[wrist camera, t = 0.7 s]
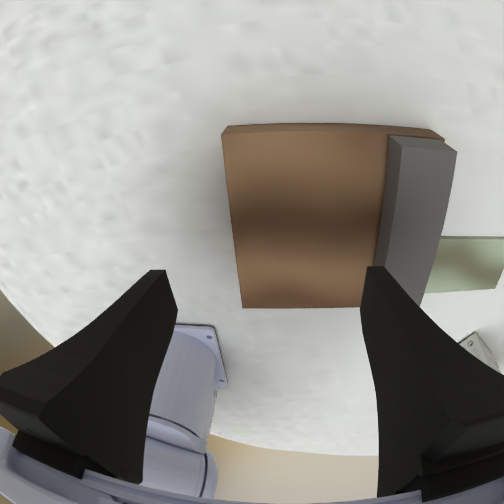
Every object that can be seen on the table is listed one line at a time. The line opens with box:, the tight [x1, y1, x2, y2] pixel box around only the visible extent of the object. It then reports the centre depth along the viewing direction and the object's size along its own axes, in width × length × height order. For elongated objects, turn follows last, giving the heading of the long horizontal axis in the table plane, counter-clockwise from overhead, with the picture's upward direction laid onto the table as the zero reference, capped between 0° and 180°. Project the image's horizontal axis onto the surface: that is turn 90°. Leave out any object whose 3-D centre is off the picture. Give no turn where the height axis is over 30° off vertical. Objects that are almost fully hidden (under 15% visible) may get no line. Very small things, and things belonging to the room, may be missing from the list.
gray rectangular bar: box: [374, 135, 457, 307], centre depth 16 cm, size 12×3×2 cm, turn 4°
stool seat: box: [221, 123, 504, 308], centre depth 19 cm, size 12×22×2 cm, turn 94°
